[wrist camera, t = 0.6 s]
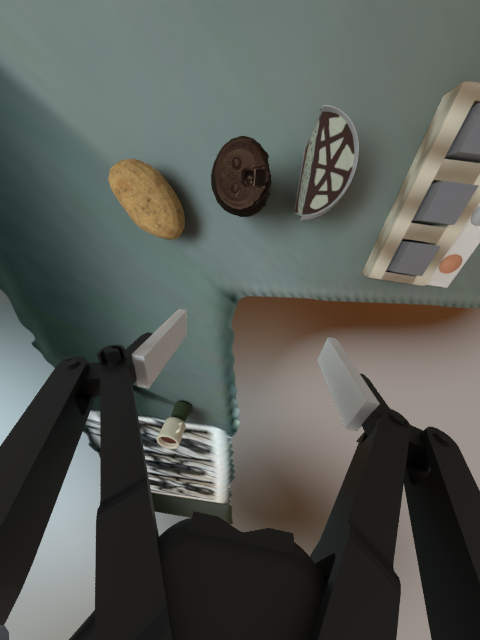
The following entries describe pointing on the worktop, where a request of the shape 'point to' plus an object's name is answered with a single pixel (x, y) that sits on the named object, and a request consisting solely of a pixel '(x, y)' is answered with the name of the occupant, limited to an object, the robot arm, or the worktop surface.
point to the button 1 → (412, 258)
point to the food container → (327, 163)
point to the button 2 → (467, 139)
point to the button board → (416, 184)
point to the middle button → (444, 203)
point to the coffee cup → (241, 177)
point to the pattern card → (458, 252)
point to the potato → (147, 198)
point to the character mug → (174, 426)
